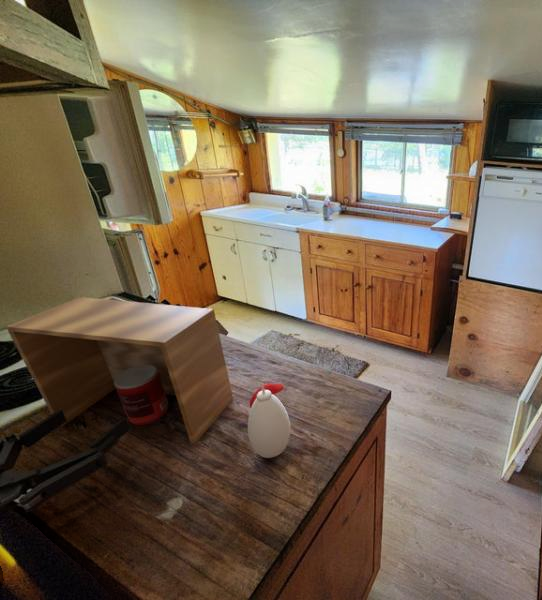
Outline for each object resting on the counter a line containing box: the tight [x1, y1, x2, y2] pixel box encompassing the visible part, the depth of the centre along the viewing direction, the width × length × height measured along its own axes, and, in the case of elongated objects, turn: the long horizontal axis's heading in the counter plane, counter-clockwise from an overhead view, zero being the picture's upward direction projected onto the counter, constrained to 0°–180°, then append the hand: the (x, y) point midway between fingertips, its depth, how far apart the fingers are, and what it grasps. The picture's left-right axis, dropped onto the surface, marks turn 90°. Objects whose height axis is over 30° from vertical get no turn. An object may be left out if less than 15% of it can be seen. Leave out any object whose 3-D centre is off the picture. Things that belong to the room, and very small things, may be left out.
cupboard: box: [5, 296, 234, 445], centre depth 71 cm, size 32×14×25 cm, turn 84°
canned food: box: [114, 365, 169, 426], centre depth 73 cm, size 8×8×11 cm
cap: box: [249, 382, 285, 409], centre depth 77 cm, size 8×6×6 cm
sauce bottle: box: [247, 382, 291, 459], centre depth 64 cm, size 8×8×18 cm
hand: (94, 419), depth 63 cm, fingers open, 13 cm apart
